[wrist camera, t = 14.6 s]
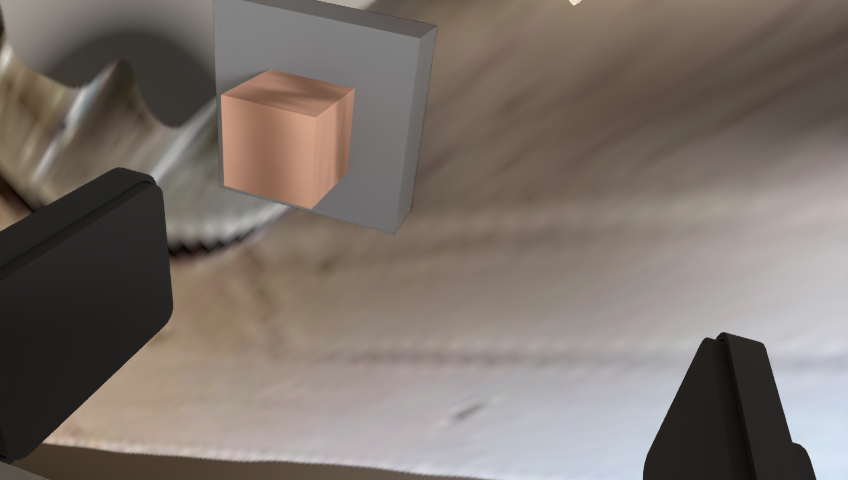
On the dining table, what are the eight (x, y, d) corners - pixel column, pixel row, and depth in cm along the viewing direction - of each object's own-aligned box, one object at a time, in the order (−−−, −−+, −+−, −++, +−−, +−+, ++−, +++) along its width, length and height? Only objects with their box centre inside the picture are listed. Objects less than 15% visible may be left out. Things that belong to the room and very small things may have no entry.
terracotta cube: (354, 88, 41) (315, 117, 36) (348, 171, 44) (311, 209, 39) (270, 68, 42) (220, 94, 37) (269, 151, 45) (224, 185, 40)
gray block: (437, 25, 41) (420, 38, 38) (410, 210, 49) (394, 234, 45) (244, -15, 44) (212, -6, 40) (246, 167, 51) (220, 187, 48)
